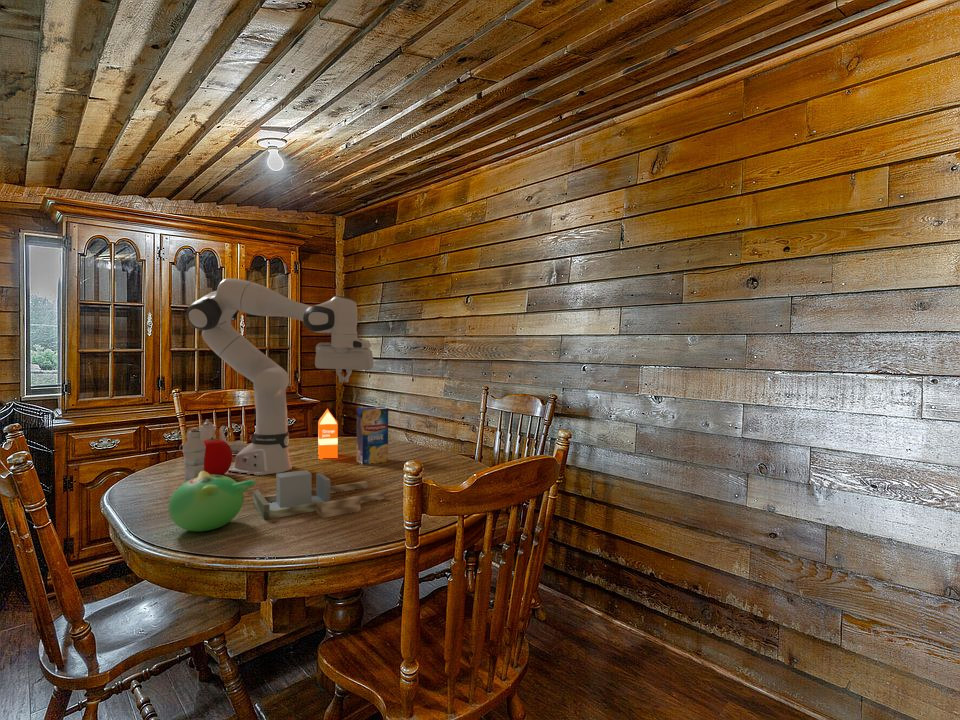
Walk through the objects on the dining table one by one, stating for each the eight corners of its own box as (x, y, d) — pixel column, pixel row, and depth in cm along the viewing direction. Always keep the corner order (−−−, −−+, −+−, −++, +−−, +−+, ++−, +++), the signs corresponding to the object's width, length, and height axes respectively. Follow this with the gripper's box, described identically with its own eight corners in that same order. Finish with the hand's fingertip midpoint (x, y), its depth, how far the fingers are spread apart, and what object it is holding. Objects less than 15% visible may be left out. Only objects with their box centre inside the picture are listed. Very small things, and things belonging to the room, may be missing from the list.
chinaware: (251, 455, 228) (252, 417, 229) (239, 460, 212) (240, 419, 213) (183, 456, 224) (184, 417, 225) (165, 461, 208) (166, 419, 209)
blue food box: (388, 461, 214) (388, 408, 213) (362, 465, 208) (362, 409, 207) (381, 458, 220) (381, 406, 219) (356, 461, 214) (356, 407, 213)
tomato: (188, 480, 182) (187, 440, 181) (200, 472, 193) (199, 434, 193) (226, 479, 184) (226, 439, 183) (236, 471, 195) (236, 433, 195)
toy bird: (214, 513, 149) (214, 462, 149) (259, 522, 143) (259, 469, 142) (154, 535, 133) (153, 477, 132) (202, 546, 126) (201, 486, 126)
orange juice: (336, 454, 227) (336, 408, 226) (337, 458, 218) (338, 410, 217) (317, 454, 224) (317, 408, 223) (318, 459, 216) (318, 411, 215)
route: (365, 486, 178) (365, 475, 178) (393, 505, 159) (393, 492, 159) (252, 503, 158) (252, 490, 158) (269, 527, 139) (269, 512, 139)
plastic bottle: (211, 491, 170) (210, 430, 169) (191, 497, 163) (191, 433, 163) (197, 489, 172) (197, 428, 171) (178, 494, 166) (177, 432, 165)
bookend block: (320, 497, 166) (321, 466, 166) (330, 505, 158) (330, 473, 158) (260, 506, 156) (260, 473, 156) (267, 516, 148) (267, 481, 148)
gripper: (312, 342, 181) (311, 381, 182) (369, 343, 179) (368, 383, 179) (319, 342, 187) (319, 380, 188) (375, 343, 185) (374, 382, 186)
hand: (343, 382), depth 184 cm, fingers closed
